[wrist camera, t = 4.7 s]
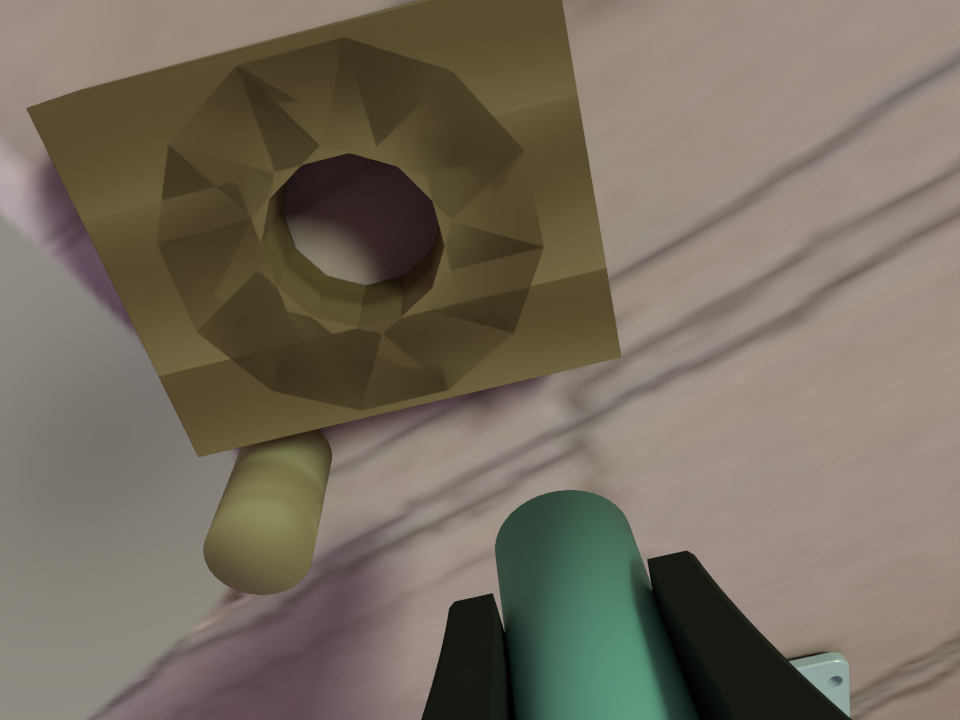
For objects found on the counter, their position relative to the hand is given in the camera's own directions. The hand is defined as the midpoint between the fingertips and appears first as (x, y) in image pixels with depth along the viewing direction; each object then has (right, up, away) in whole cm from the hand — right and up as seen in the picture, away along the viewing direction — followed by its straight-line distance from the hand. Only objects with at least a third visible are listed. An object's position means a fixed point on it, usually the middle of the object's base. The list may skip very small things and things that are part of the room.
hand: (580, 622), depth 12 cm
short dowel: (-7, +1, +9) cm, 11 cm away
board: (-4, +8, +6) cm, 11 cm away
